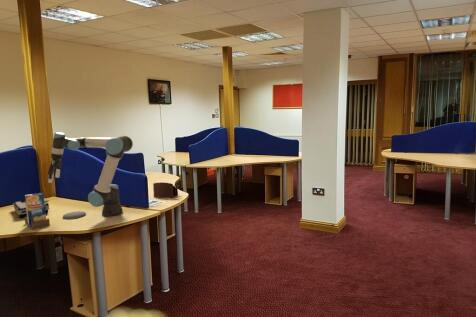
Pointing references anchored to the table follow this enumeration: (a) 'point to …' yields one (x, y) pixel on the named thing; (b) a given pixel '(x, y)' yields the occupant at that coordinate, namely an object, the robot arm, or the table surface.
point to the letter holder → (165, 190)
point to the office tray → (21, 208)
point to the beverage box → (35, 207)
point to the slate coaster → (74, 215)
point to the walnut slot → (38, 223)
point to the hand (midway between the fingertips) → (53, 180)
